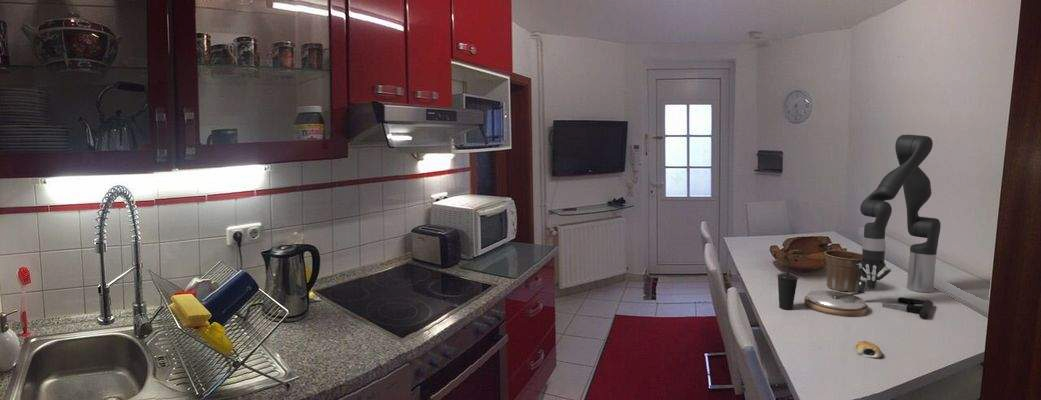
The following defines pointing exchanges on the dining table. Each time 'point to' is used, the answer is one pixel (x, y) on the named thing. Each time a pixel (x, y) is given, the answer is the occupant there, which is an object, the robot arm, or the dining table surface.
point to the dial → (839, 298)
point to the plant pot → (842, 270)
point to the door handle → (913, 306)
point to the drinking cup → (786, 289)
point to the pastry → (868, 349)
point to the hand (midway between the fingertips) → (871, 288)
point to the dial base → (836, 310)
